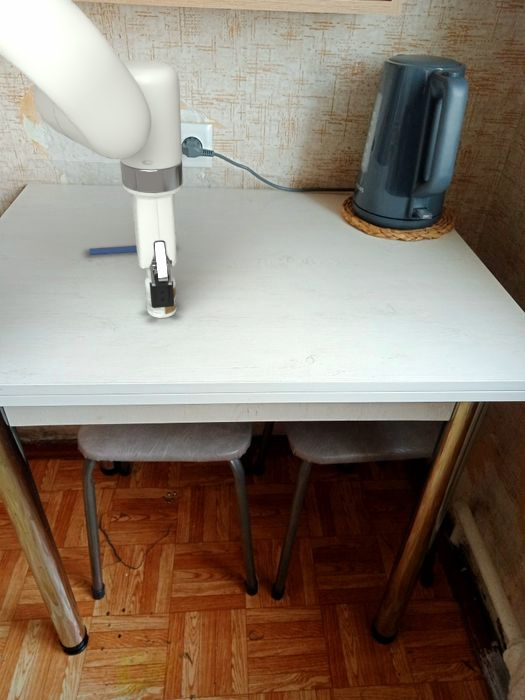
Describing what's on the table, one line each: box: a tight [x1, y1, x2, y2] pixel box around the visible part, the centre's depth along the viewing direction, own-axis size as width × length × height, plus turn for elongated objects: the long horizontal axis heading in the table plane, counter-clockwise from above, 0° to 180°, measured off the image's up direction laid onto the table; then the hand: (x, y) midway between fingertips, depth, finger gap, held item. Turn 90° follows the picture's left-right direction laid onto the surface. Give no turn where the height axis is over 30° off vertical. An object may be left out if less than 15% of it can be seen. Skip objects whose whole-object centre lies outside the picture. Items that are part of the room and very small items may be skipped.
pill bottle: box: [144, 260, 177, 319], centre depth 74 cm, size 4×4×8 cm
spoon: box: [89, 245, 137, 256], centre depth 91 cm, size 14×4×1 cm, turn 105°
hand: (161, 295), depth 75 cm, fingers closed on pill bottle, 4 cm apart
